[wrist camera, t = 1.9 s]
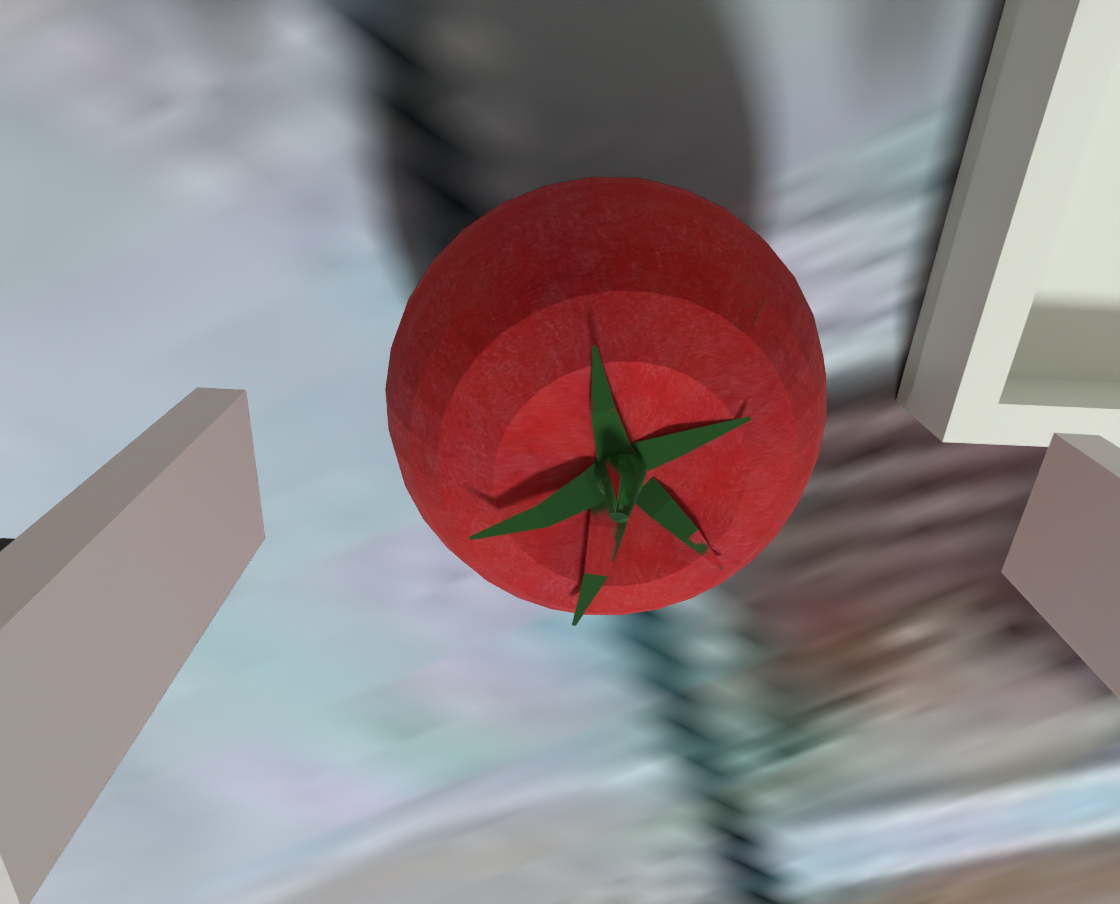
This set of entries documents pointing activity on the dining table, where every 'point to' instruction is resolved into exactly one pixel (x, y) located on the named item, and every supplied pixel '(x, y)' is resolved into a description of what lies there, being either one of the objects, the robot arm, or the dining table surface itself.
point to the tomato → (606, 395)
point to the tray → (1030, 243)
